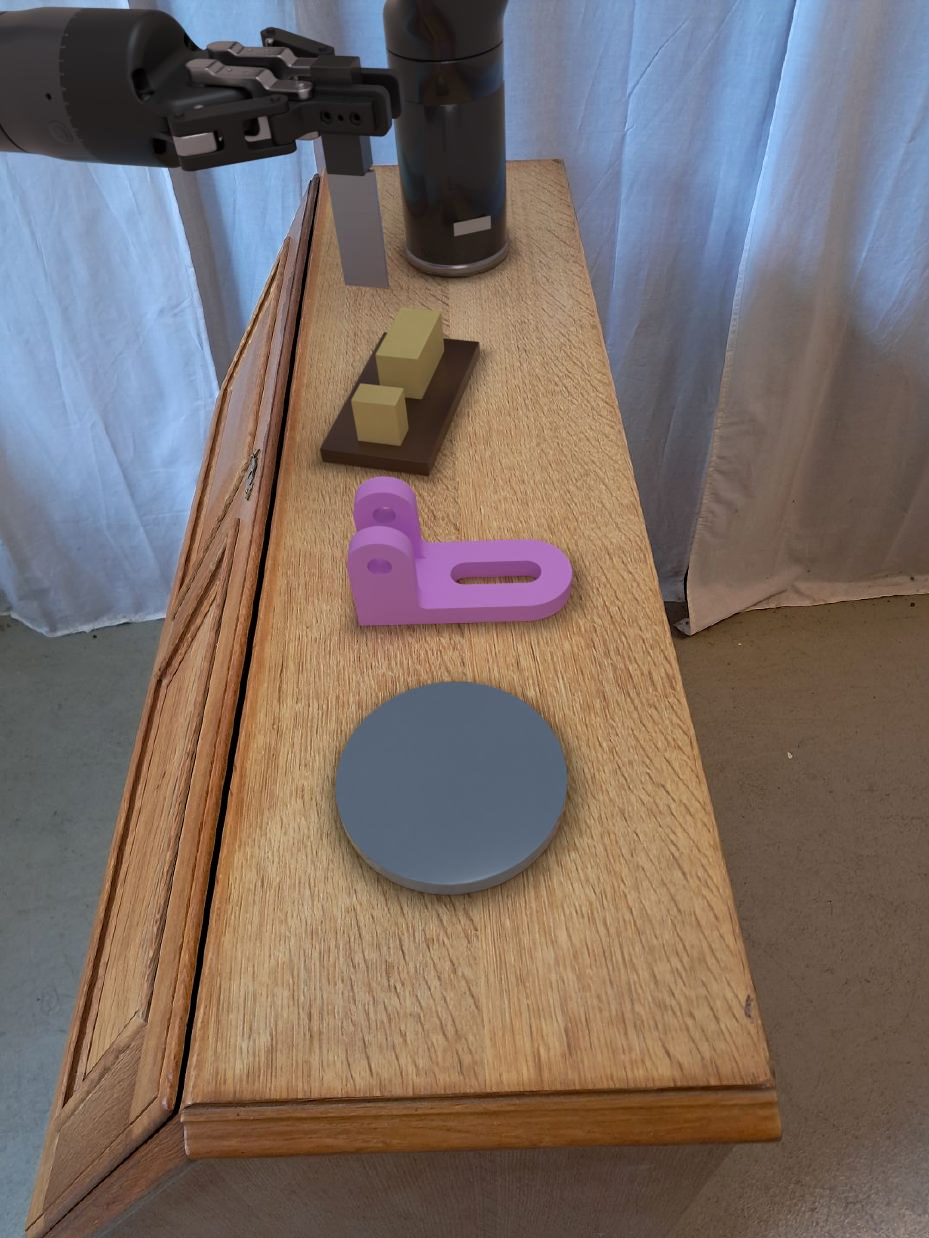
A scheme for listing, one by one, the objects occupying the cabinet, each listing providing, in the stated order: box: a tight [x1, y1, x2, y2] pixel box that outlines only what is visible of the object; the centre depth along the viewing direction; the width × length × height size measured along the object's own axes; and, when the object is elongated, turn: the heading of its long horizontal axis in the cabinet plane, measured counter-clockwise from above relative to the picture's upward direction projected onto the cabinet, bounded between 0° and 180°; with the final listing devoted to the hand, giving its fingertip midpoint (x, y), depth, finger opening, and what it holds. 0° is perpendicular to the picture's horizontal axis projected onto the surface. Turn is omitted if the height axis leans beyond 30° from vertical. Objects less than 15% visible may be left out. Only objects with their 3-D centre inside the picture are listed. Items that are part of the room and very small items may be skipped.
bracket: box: [346, 476, 573, 627], centre depth 55 cm, size 13×6×7 cm, turn 89°
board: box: [319, 331, 481, 477], centre depth 69 cm, size 15×8×1 cm, turn 165°
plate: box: [334, 681, 569, 896], centre depth 48 cm, size 12×12×1 cm
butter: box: [376, 306, 444, 399], centre depth 69 cm, size 6×3×4 cm, turn 165°
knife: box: [310, 54, 390, 290], centre depth 51 cm, size 2×3×12 cm, turn 75°
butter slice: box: [351, 384, 409, 446], centre depth 64 cm, size 2×3×4 cm, turn 76°
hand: (394, 103), depth 47 cm, fingers closed on knife, 1 cm apart
